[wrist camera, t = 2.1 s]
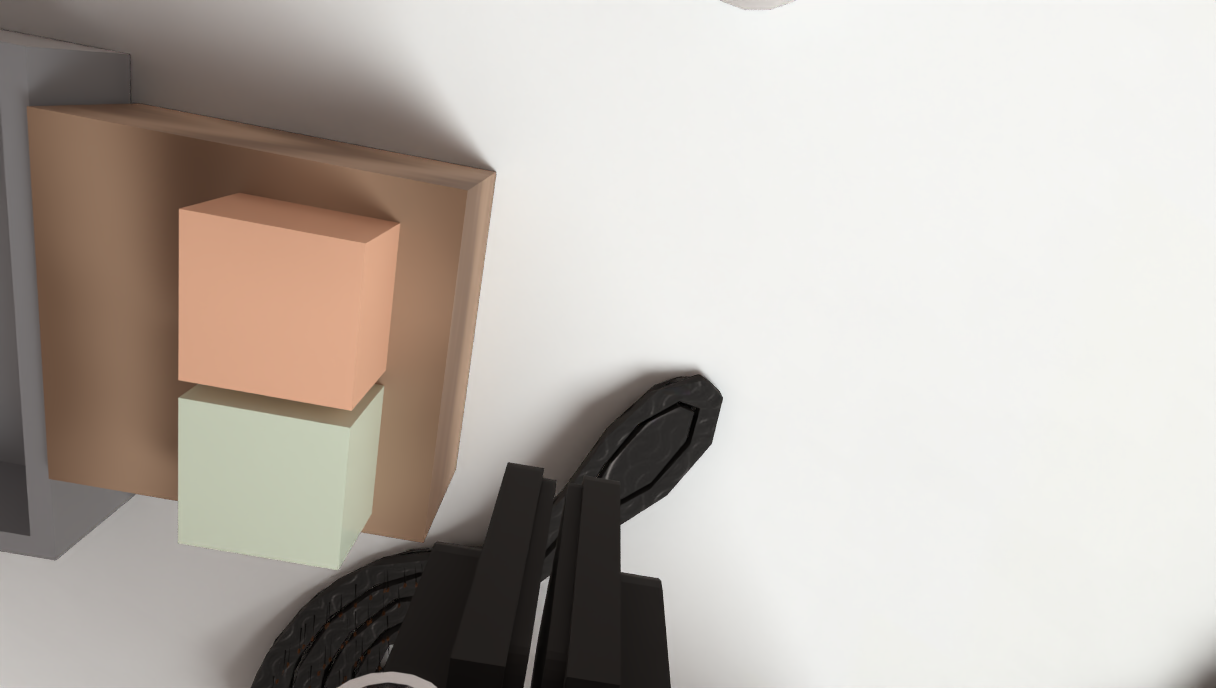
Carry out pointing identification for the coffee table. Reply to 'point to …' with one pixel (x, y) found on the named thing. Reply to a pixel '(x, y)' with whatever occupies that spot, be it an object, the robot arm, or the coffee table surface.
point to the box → (8, 296)
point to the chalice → (758, 4)
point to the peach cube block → (284, 299)
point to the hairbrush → (634, 459)
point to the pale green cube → (275, 474)
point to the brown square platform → (149, 287)
